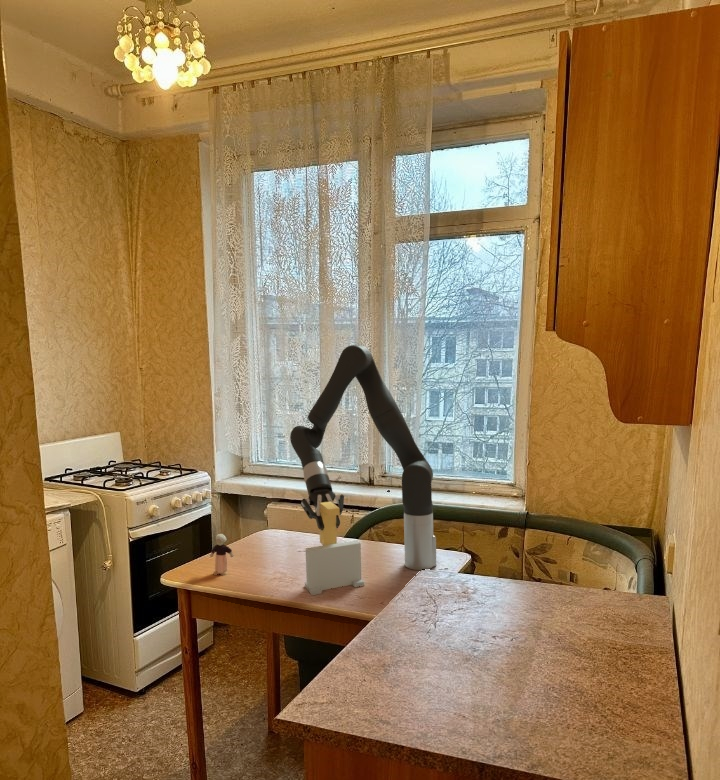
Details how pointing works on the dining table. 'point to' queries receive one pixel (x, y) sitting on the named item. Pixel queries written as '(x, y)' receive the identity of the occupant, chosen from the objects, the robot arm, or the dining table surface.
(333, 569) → the wall board
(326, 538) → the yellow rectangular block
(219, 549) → the grandmother figurine
